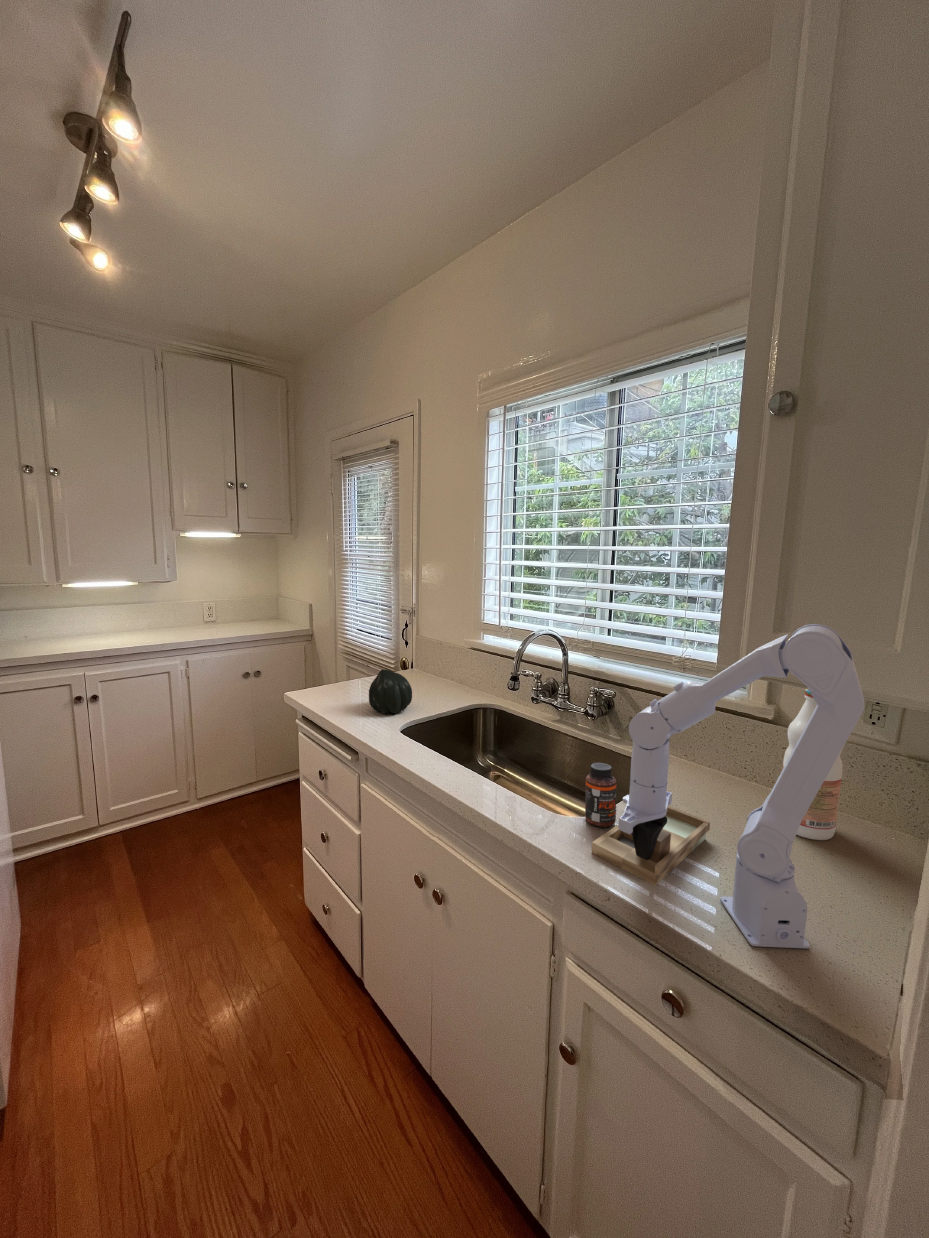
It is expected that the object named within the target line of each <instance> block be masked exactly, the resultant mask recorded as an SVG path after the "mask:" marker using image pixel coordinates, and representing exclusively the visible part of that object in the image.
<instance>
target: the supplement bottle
mask: <svg viewBox="0 0 929 1238" xmlns="http://www.w3.org/2000/svg"><path fill="white" fill-rule="evenodd" d="M612 769H613V767H612V766H611V765H609V764H608V763H603V762H593V763H591V765H590V773H589V774H587V775H586V777H585V800H584V801H585V802H584V803H585V804H584V805H585V806H584V807H585V811H584V812H585V813H584V817H585V820H586V821H587V822H588V823H589V824H591V825H593V826H596V827H600V828H604V827H605V828H606V827H607V828H608V827H611V826H613V825H615V823H616V821H617V820H616V819H617V817H616V816H617V780H616V778H615V777H614V776H613V774H612V773H613V772H612Z"/></svg>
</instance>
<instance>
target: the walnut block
mask: <svg viewBox="0 0 929 1238" xmlns="http://www.w3.org/2000/svg"><path fill="white" fill-rule="evenodd" d="M670 841H671V833H670V832H668V831H665V830H663V829H662V831H661V832H660V834H659V836H658V839H657V842H656V844H655V847H654V851H653V853H652V856H651V858H650V859H649V860H651V861H653V862H655V863H658V862H659V861H660V860H662V859H663V858H664V857H665V856H666V855H667V854H668V853H670Z"/></svg>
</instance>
